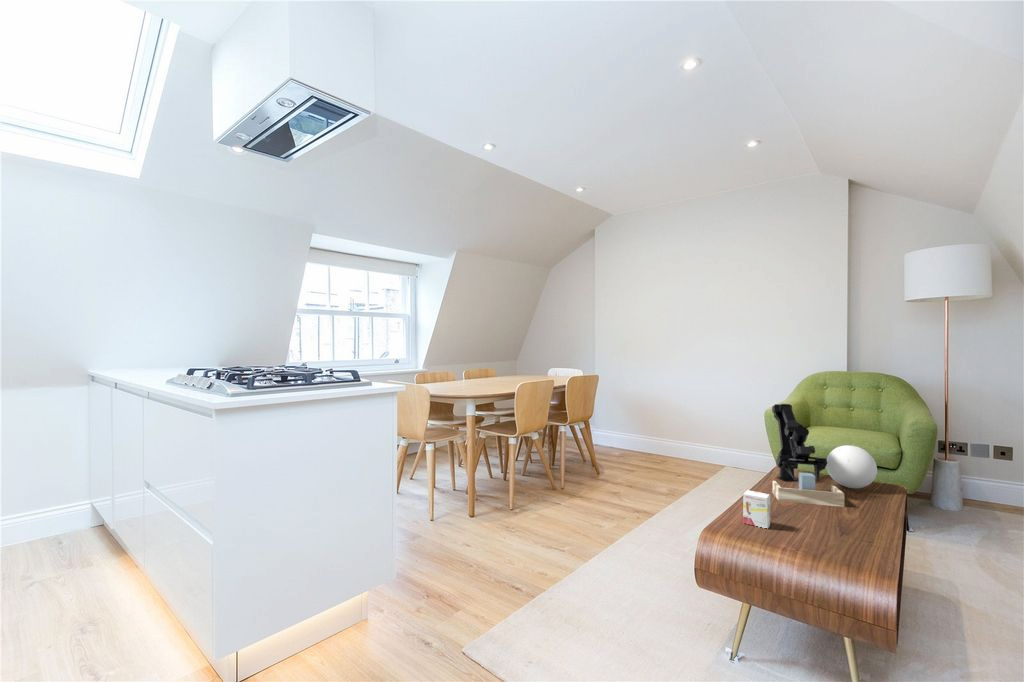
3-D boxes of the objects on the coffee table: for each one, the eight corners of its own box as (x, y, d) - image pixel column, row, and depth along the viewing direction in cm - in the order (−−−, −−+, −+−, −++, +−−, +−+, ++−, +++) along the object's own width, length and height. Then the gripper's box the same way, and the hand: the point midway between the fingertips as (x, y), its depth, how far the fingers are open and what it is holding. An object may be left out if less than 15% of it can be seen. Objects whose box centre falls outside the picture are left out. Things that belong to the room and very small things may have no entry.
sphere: (870, 497, 209) (870, 452, 209) (820, 486, 224) (820, 445, 225) (882, 488, 222) (882, 446, 222) (833, 479, 237) (833, 439, 237)
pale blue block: (798, 497, 207) (798, 472, 207) (811, 498, 206) (811, 473, 206) (802, 500, 202) (802, 475, 202) (815, 501, 201) (815, 476, 201)
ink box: (742, 523, 177) (742, 492, 177) (745, 520, 181) (745, 489, 181) (767, 529, 172) (767, 497, 172) (770, 525, 176) (770, 494, 176)
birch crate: (772, 493, 213) (772, 480, 213) (834, 499, 206) (834, 485, 206) (778, 501, 202) (778, 488, 202) (844, 508, 195) (844, 493, 195)
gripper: (778, 437, 214) (785, 467, 203) (825, 440, 208) (834, 471, 197) (774, 451, 221) (780, 480, 210) (820, 454, 215) (828, 484, 205)
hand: (805, 478), depth 205 cm, fingers open, 9 cm apart
